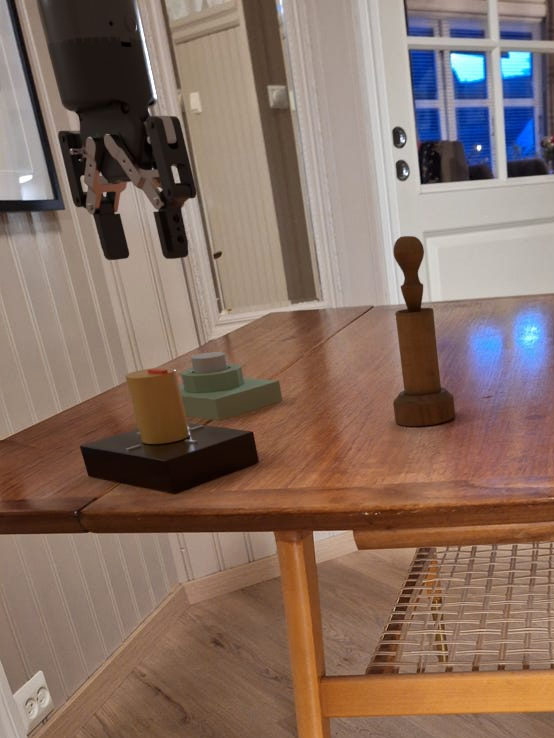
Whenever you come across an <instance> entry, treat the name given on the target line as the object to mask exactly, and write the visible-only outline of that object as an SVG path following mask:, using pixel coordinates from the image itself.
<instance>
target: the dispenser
mask: <svg viewBox="0 0 554 738" xmlns="http://www.w3.org/2000/svg"><path fill="white" fill-rule="evenodd" d="M227 365H228V369H227V370H223V371H220V372H213V373H202V374H198V373H194V370H193V367H190V368H187V369H185V370H183V371H181V372H180V376H181V381H182V383H179V387H180V391H181V396H182V400H183V404H184V409H185V413H186V417H187V418H196V419H202V420H211V421H218V422H220V421H223V420H227V419H230V418H233V417H236V416H239V415H243V414H246V413H249V412H252V411H255V410H258V409H259V410H260V409H261V408H265V407H269V406H271V405H274V404H277V403H281V402H283V395H282V390H281V383H280V381H279V380H275V379H263V378H252V377H244V374H243V369H242V366H241V365H240V364H238V363H227Z"/></svg>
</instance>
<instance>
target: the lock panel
mask: <svg viewBox="0 0 554 738" xmlns="http://www.w3.org/2000/svg"><path fill="white" fill-rule="evenodd" d="M188 426H189V431H190V436H189V437H187V438H185V439H182V440H179V441H176V442H171V443H164V444H146V443H143V442H142V440H141V436H140V432H139V428H138V427H137V428H134V429H131V430H127V431H125V432H120V433H117V434H114V435H110V436H107V437H104V438H103V437H102V438H100V439H96V440H93V441H90V442H87V443H84V444H83V443H82V444H80V445H79V449H80V453H81V456H82V460H83V463H84V466H85V470H86V472H87V476H88V477H90V478H91V477H92V478H97V479H101V480H104V481H105V480H106V481H111V482H116V483H119V484H120V483H121V484H125V485H131V486H135V487H140V488H144V489H150V490H155V491H160V492H164V493H170V494H177V493H180V492H182V491H183V492H184V491H185V490H188V489H190V488H194V487H197V486H199V485H202V484H205V483H207V482H210V481H212V480H215V479H217V478H221V477H224V476H225V475H229V474H231V473H234V472H237V471H239V470H243V469H245V468H247V467H250V466H253V465H256V464H259V462H260V460H259V454H258V449H257V445H256V443H257V442H256V439H255V433H254V431H253V430H252V431H251V430H244V429H237V428H230V427H223V426H216V425H215V426H214V425H207V424H199V423H192V422H188Z"/></svg>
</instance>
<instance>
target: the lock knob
mask: <svg viewBox="0 0 554 738" xmlns="http://www.w3.org/2000/svg"><path fill="white" fill-rule="evenodd" d="M124 377H125V381H126V385H127V389H128V393H129V397H130V401H131V405H132V409H133V413H134V416H135V420H136V424H137V428H139V432H140V436H141V440H142V442H143V443H146V444H164V443H171V442H176V441H179V440H182V439H185V438H187V437H189V436H190V431H189V426H188V423H189V422H188V417H186V413H185V409H184V404H183V400H182V396H181V391H180V387H179V384H180V382H179V379H178V373H177V370H176V368H174V367H152V368H145V369H140V370H135V371H132V372H129V373H127V374H125V376H124Z"/></svg>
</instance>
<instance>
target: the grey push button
mask: <svg viewBox="0 0 554 738" xmlns="http://www.w3.org/2000/svg"><path fill="white" fill-rule="evenodd" d="M190 360H191V361H190V362H191V365H192V366H191V367H192V368H193V370H194V373H198V374H202V373H213V372H220V371H223V370H227V369H228V365H227V364H228V360H227V355H226V353H225V352H223V351H211V352H203V353H198V354H197V353H196V354H194V355H192V356H190Z"/></svg>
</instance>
